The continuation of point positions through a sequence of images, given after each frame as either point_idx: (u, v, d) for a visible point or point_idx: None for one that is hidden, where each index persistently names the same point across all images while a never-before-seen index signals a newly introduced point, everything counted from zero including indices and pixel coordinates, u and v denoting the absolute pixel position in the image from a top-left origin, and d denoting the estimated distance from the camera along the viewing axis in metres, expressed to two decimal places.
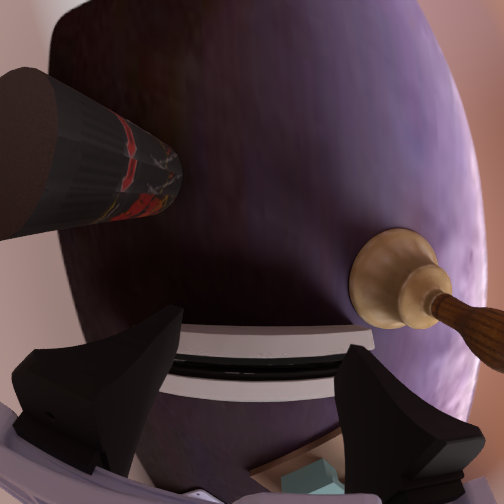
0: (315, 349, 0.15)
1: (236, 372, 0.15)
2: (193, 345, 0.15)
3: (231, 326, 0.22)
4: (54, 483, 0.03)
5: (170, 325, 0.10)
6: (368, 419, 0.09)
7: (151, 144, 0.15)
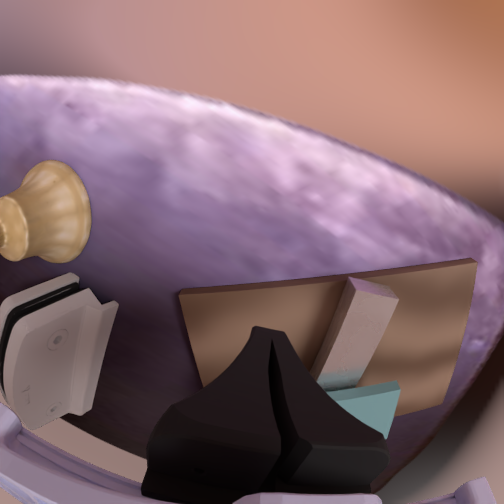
0: None
1: None
2: None
3: None
4: (54, 483, 0.03)
5: (269, 349, 0.10)
6: None
7: None
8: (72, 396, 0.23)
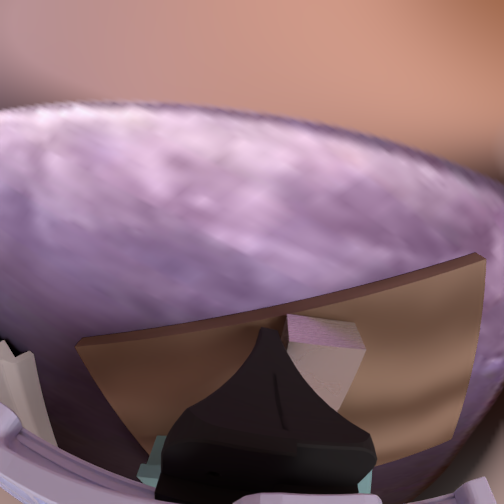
0: None
1: None
2: None
3: None
4: (54, 483, 0.03)
5: None
6: None
7: None
8: None
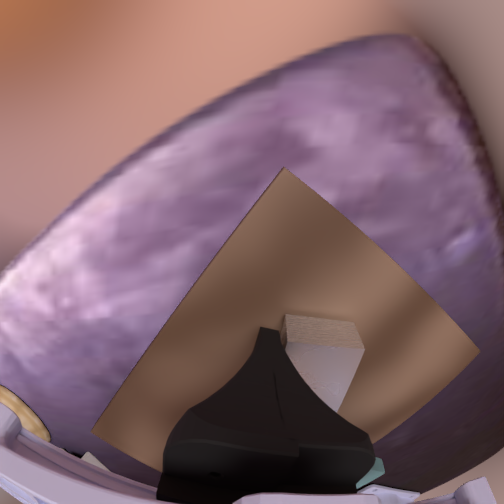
0: None
1: None
2: None
3: None
4: (54, 483, 0.03)
5: None
6: None
7: None
8: None
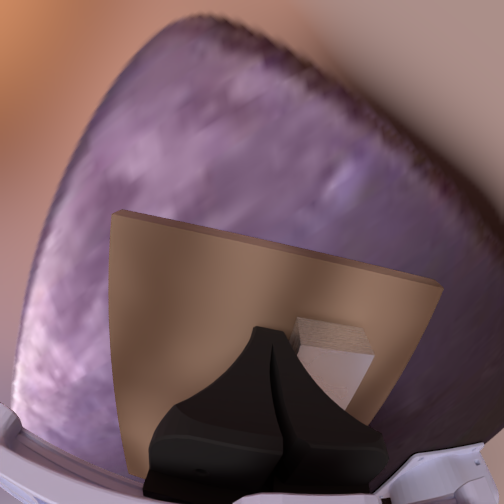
0: None
1: None
2: None
3: None
4: (54, 483, 0.03)
5: (270, 349, 0.10)
6: None
7: None
8: None
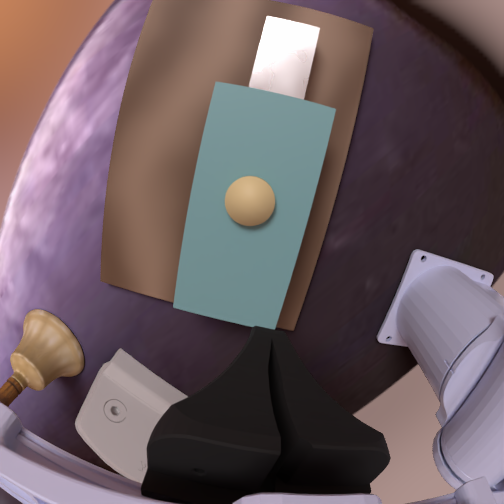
0: (104, 460, 0.20)
1: None
2: None
3: None
4: (54, 483, 0.03)
5: (269, 349, 0.10)
6: None
7: None
8: None
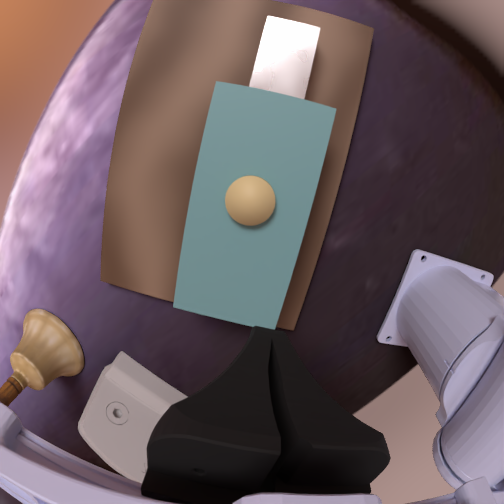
0: (107, 463, 0.20)
1: None
2: None
3: None
4: (54, 483, 0.03)
5: (269, 349, 0.10)
6: None
7: None
8: None
